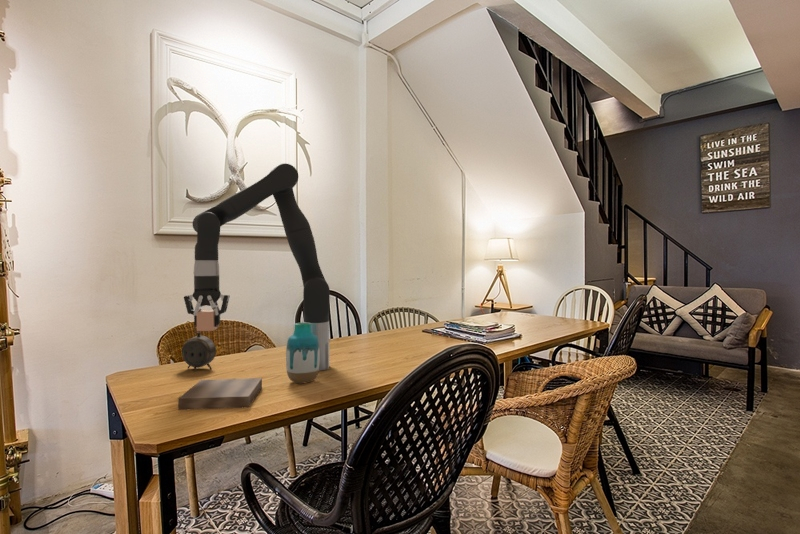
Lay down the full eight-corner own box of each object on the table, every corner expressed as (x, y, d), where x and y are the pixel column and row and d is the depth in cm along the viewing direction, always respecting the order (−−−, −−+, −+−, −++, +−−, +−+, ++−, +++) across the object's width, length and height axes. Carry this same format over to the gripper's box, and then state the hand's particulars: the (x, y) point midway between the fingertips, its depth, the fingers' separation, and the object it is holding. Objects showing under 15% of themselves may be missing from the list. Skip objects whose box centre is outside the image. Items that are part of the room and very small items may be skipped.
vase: (308, 376, 148) (308, 320, 148) (325, 382, 141) (326, 323, 141) (279, 382, 141) (280, 323, 141) (297, 389, 133) (297, 327, 133)
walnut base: (261, 387, 135) (261, 378, 134) (248, 407, 117) (248, 396, 117) (201, 389, 132) (201, 379, 132) (178, 409, 114) (178, 398, 114)
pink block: (217, 328, 144) (217, 310, 143) (213, 330, 139) (212, 312, 139) (201, 328, 143) (201, 310, 143) (196, 331, 138) (196, 312, 138)
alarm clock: (216, 368, 158) (216, 323, 158) (208, 372, 153) (208, 326, 153) (188, 367, 159) (188, 323, 159) (179, 371, 154) (179, 325, 154)
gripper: (232, 273, 145) (233, 324, 145) (187, 274, 143) (188, 325, 144) (226, 274, 138) (227, 328, 138) (179, 275, 136) (179, 329, 136)
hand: (207, 326), depth 141 cm, fingers closed on pink block, 5 cm apart
